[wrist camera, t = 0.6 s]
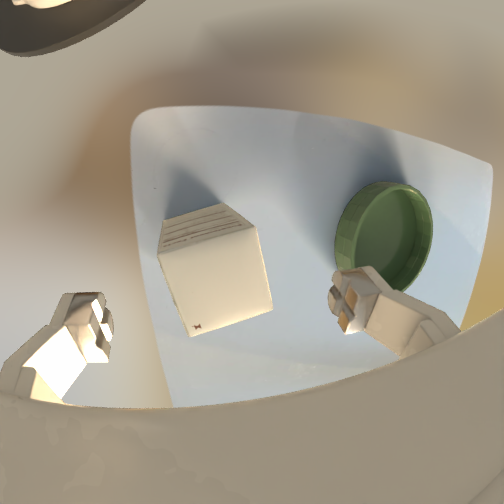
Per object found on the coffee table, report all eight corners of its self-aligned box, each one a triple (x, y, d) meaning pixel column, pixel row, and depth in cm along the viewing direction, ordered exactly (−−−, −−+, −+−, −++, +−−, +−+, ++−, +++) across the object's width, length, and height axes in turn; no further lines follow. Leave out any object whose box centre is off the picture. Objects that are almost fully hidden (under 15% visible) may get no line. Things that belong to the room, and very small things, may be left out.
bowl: (325, 195, 34) (343, 200, 30) (412, 172, 37) (431, 175, 33) (339, 306, 40) (354, 319, 36) (415, 267, 43) (430, 275, 39)
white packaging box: (238, 259, 33) (275, 312, 22) (179, 277, 32) (186, 341, 20) (225, 200, 30) (258, 224, 19) (161, 218, 29) (153, 254, 17)
